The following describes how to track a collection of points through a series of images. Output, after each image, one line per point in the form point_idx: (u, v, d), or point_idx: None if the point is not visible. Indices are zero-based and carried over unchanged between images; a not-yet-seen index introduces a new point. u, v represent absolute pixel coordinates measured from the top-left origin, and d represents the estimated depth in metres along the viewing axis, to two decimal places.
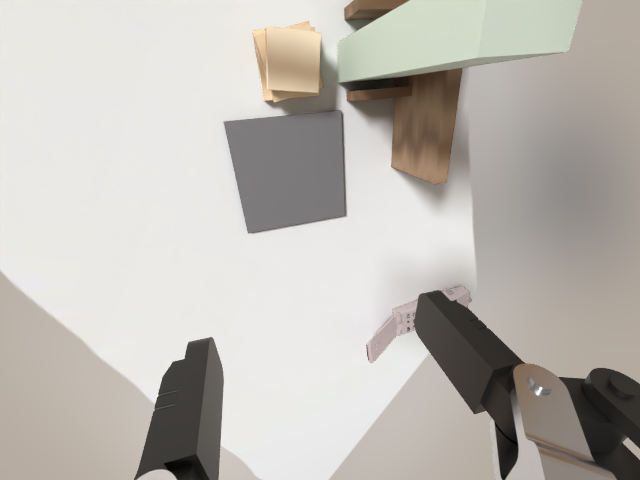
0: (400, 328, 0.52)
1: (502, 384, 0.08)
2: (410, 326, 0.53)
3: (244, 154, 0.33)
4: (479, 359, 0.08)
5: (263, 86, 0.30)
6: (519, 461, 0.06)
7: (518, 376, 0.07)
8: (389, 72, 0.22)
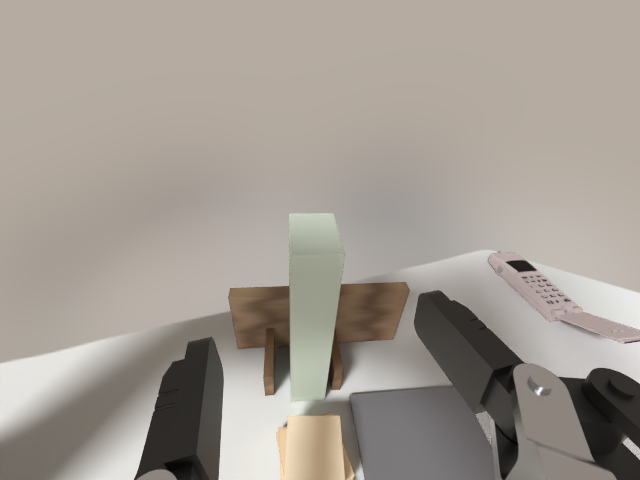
0: (571, 308, 0.44)
1: (502, 384, 0.08)
2: (562, 298, 0.46)
3: None
4: (479, 359, 0.08)
5: None
6: (519, 461, 0.06)
7: (517, 376, 0.07)
8: (333, 333, 0.26)
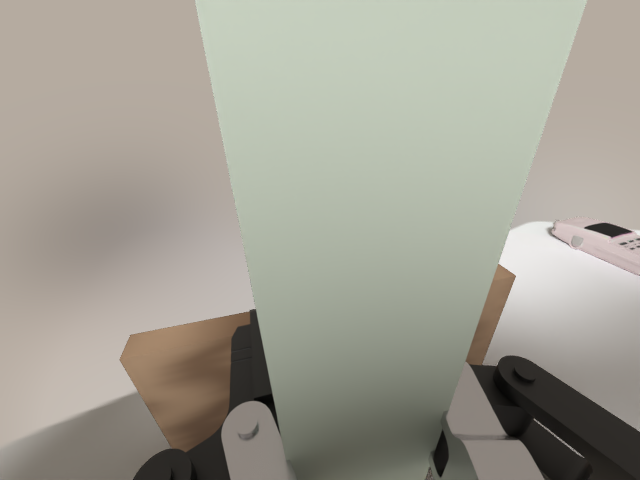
0: None
1: None
2: None
3: None
4: None
5: None
6: (451, 458, 0.06)
7: None
8: (437, 434, 0.07)
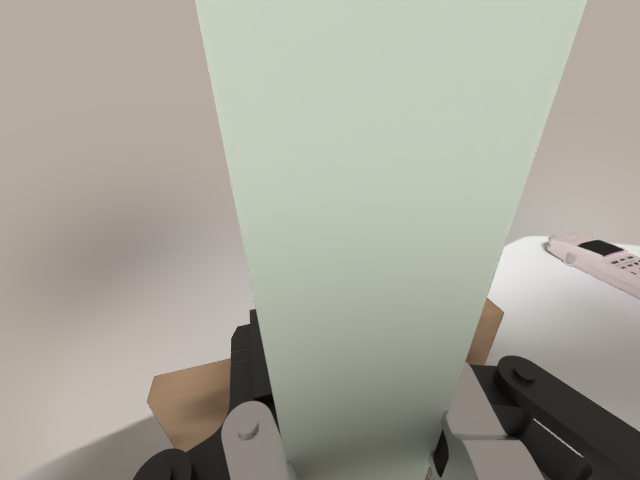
0: None
1: None
2: None
3: None
4: None
5: None
6: (451, 458, 0.06)
7: None
8: (437, 434, 0.07)
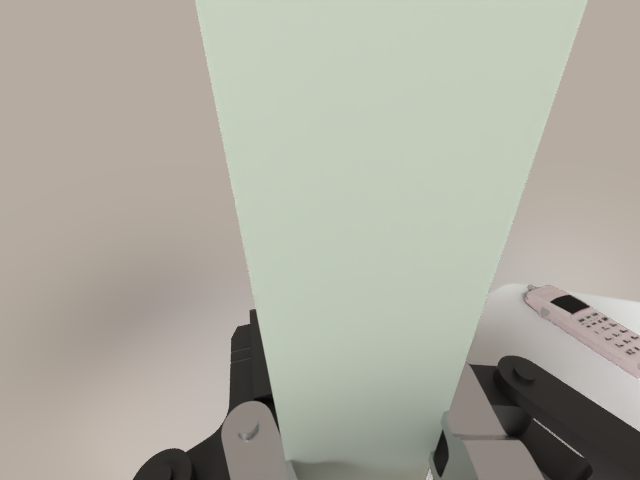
0: None
1: None
2: (639, 342, 0.37)
3: None
4: None
5: None
6: (451, 458, 0.06)
7: None
8: (437, 434, 0.07)
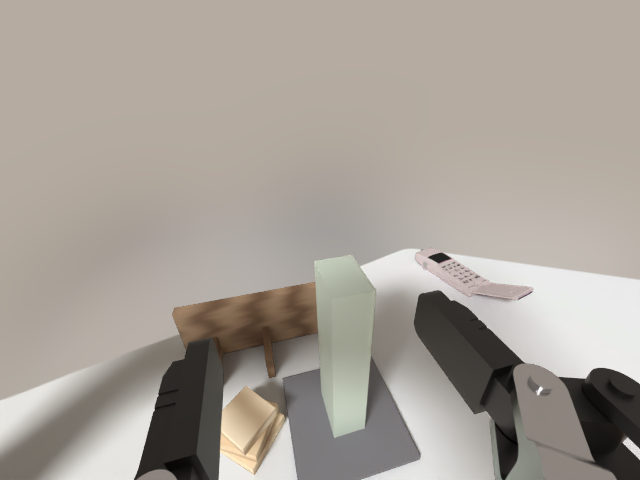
0: (481, 282, 0.55)
1: (502, 384, 0.08)
2: (473, 276, 0.58)
3: (331, 469, 0.31)
4: (479, 359, 0.08)
5: (277, 425, 0.35)
6: (519, 461, 0.06)
7: (517, 376, 0.07)
8: (369, 362, 0.28)
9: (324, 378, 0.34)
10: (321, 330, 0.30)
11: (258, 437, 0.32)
